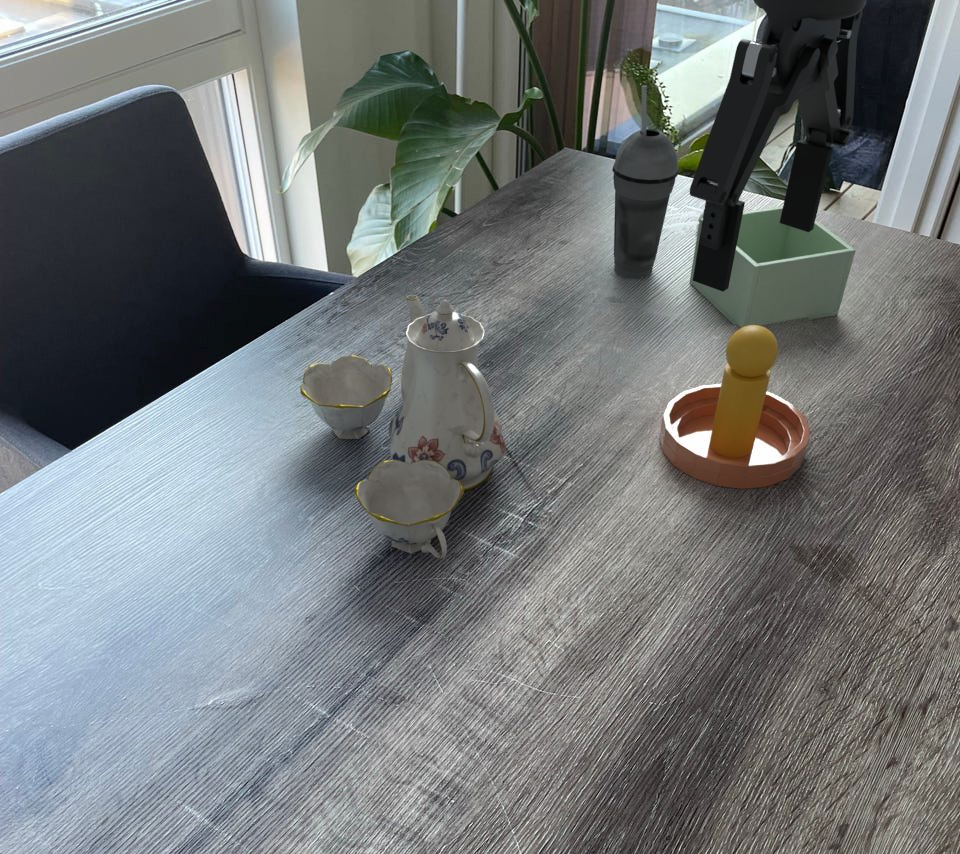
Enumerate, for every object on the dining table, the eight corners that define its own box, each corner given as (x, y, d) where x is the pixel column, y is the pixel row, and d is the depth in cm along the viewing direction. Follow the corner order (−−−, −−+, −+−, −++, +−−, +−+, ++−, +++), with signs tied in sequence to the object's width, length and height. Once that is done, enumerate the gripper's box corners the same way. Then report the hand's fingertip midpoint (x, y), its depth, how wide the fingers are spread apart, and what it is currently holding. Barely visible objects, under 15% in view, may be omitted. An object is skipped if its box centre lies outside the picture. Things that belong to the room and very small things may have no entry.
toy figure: (740, 428, 99) (766, 312, 90) (763, 454, 96) (793, 336, 87) (699, 436, 98) (721, 320, 89) (721, 463, 95) (747, 345, 86)
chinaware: (284, 429, 101) (241, 272, 89) (436, 373, 105) (415, 216, 93) (402, 606, 84) (369, 442, 72) (578, 531, 88) (576, 364, 76)
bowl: (755, 400, 103) (761, 373, 101) (830, 476, 94) (838, 449, 92) (635, 424, 100) (639, 397, 98) (701, 505, 91) (706, 478, 89)
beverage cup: (656, 288, 119) (683, 102, 105) (595, 278, 121) (613, 94, 106) (669, 261, 124) (696, 80, 110) (610, 251, 126) (629, 72, 111)
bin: (780, 267, 123) (795, 204, 118) (837, 315, 115) (856, 250, 110) (689, 282, 120) (699, 218, 115) (741, 332, 112) (755, 266, 107)
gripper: (854, -101, 75) (788, 192, 91) (667, -36, 62) (627, 295, 77) (953, -85, 72) (868, 217, 87) (778, -13, 59) (713, 329, 74)
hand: (755, 254), depth 82 cm, fingers open, 13 cm apart
